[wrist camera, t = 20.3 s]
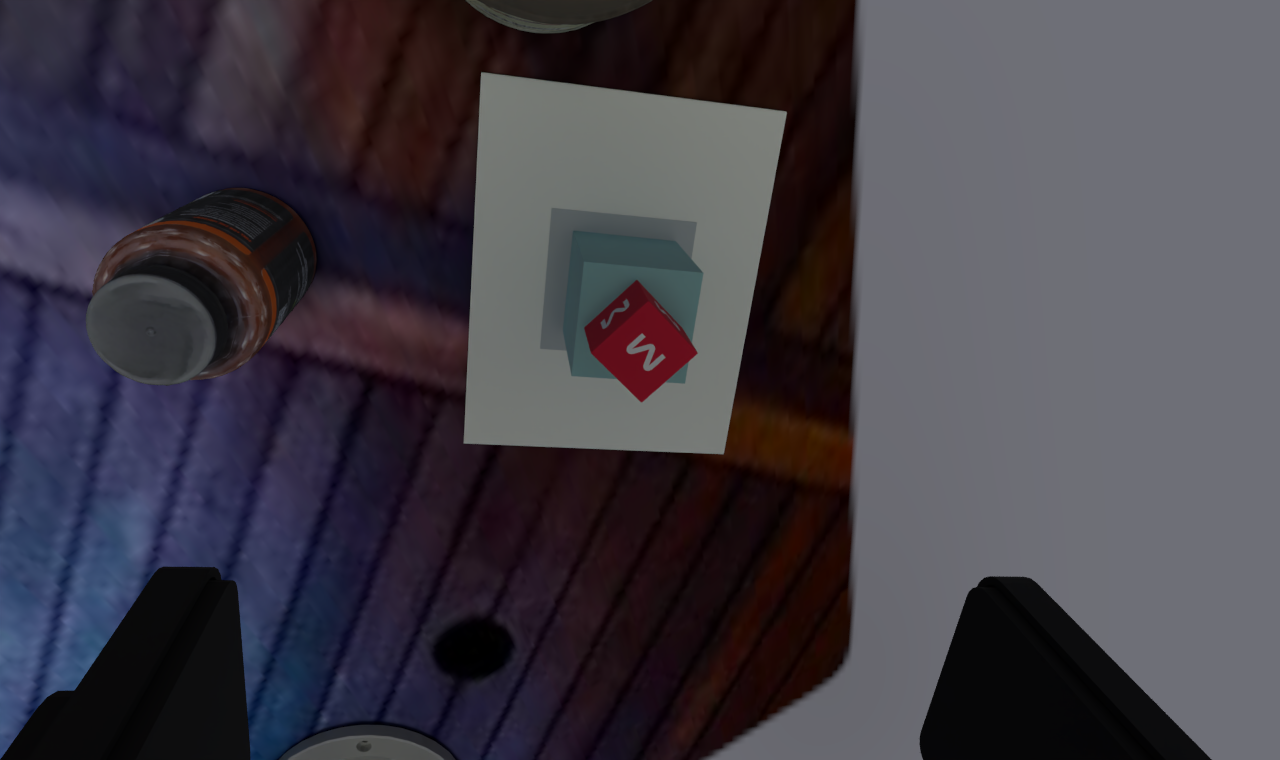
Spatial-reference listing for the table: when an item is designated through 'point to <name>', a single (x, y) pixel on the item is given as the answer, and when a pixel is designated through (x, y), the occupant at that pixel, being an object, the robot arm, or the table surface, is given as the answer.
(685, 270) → the teal block
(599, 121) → the pad
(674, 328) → the red letter cube
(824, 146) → the table surface
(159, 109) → the table surface
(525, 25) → the coffee can
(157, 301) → the supplement bottle
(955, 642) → the robot arm
